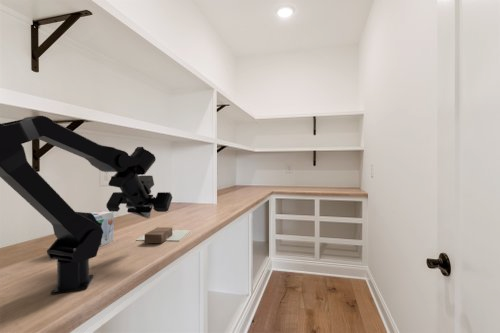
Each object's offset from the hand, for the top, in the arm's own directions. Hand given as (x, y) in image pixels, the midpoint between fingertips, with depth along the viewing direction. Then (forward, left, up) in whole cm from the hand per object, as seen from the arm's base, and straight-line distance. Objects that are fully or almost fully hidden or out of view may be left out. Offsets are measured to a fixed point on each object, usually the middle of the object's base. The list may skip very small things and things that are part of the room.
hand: (148, 217), depth 82 cm
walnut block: (+2, -1, -8) cm, 9 cm away
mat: (+12, -6, -10) cm, 17 cm away
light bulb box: (+9, +17, -10) cm, 22 cm away
